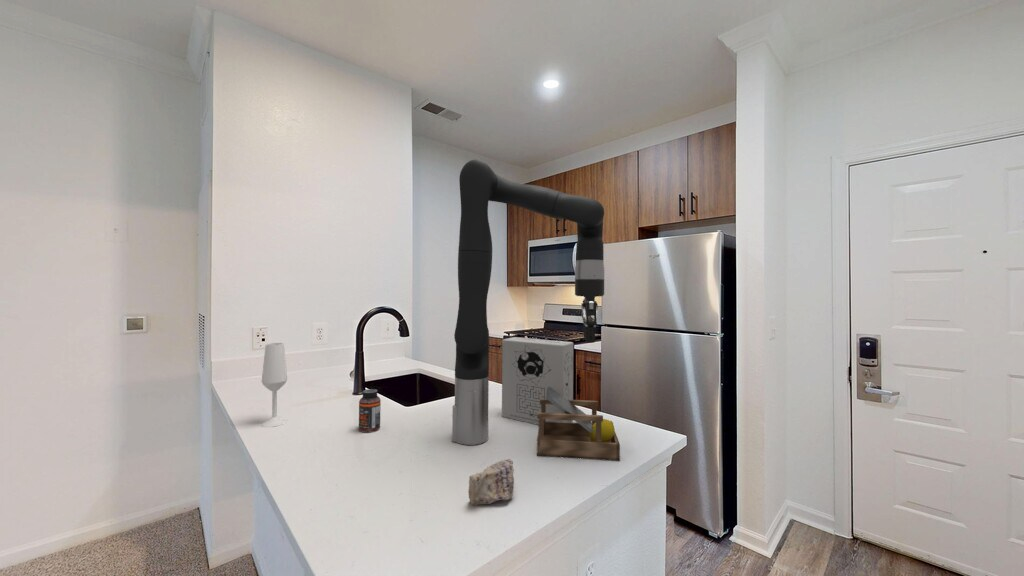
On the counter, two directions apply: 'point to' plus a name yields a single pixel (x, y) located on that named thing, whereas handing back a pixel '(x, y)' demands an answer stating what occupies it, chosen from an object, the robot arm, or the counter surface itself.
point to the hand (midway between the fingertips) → (589, 340)
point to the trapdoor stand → (573, 435)
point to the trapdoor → (567, 407)
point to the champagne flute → (274, 377)
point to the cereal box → (534, 376)
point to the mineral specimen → (492, 483)
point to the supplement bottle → (369, 411)
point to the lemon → (603, 431)
